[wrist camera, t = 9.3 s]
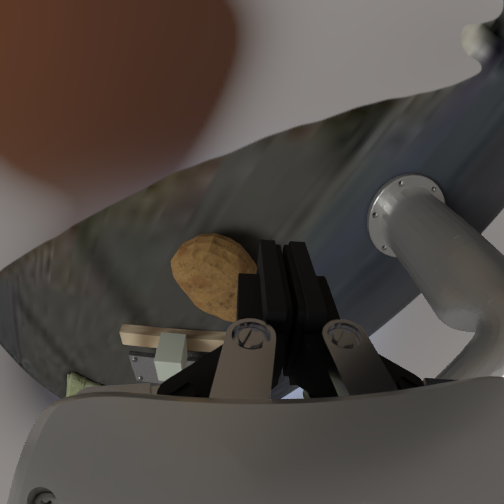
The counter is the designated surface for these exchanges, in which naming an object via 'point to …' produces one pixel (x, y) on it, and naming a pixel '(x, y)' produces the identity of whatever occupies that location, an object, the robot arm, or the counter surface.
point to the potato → (212, 273)
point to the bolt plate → (149, 366)
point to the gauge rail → (151, 335)
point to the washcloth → (78, 383)
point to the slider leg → (170, 355)
